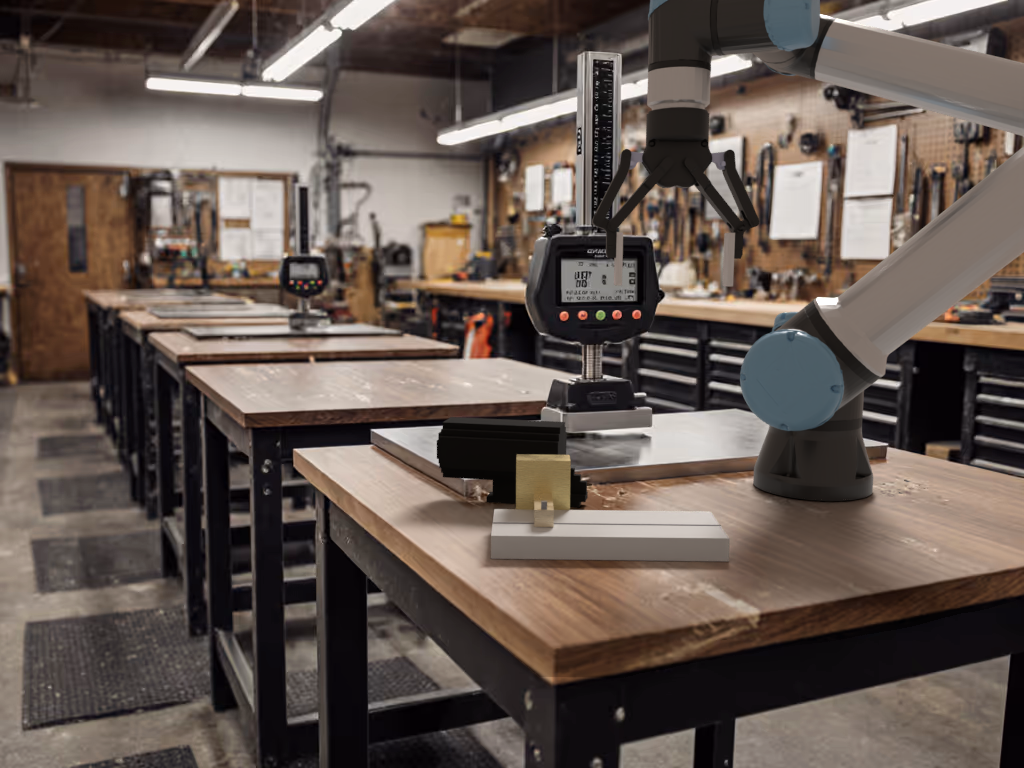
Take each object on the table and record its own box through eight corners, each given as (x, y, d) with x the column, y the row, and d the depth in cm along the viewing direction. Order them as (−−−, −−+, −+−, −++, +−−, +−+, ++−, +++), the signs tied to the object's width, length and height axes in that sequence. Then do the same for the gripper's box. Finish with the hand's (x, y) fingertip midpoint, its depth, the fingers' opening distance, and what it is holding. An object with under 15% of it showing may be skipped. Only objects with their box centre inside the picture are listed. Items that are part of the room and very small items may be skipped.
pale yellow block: (568, 523, 109) (569, 454, 108) (572, 550, 99) (573, 475, 98) (516, 522, 109) (516, 454, 108) (514, 549, 99) (515, 475, 98)
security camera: (582, 513, 113) (584, 430, 112) (433, 504, 117) (433, 424, 115) (589, 498, 120) (591, 420, 118) (448, 490, 123) (448, 414, 122)
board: (709, 532, 105) (710, 510, 105) (728, 561, 96) (729, 537, 95) (494, 530, 106) (494, 508, 106) (490, 558, 96) (490, 535, 96)
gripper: (773, 114, 118) (766, 285, 121) (573, 113, 119) (570, 283, 122) (789, 105, 111) (781, 287, 114) (576, 104, 111) (573, 286, 114)
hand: (672, 286), depth 118 cm, fingers open, 13 cm apart
